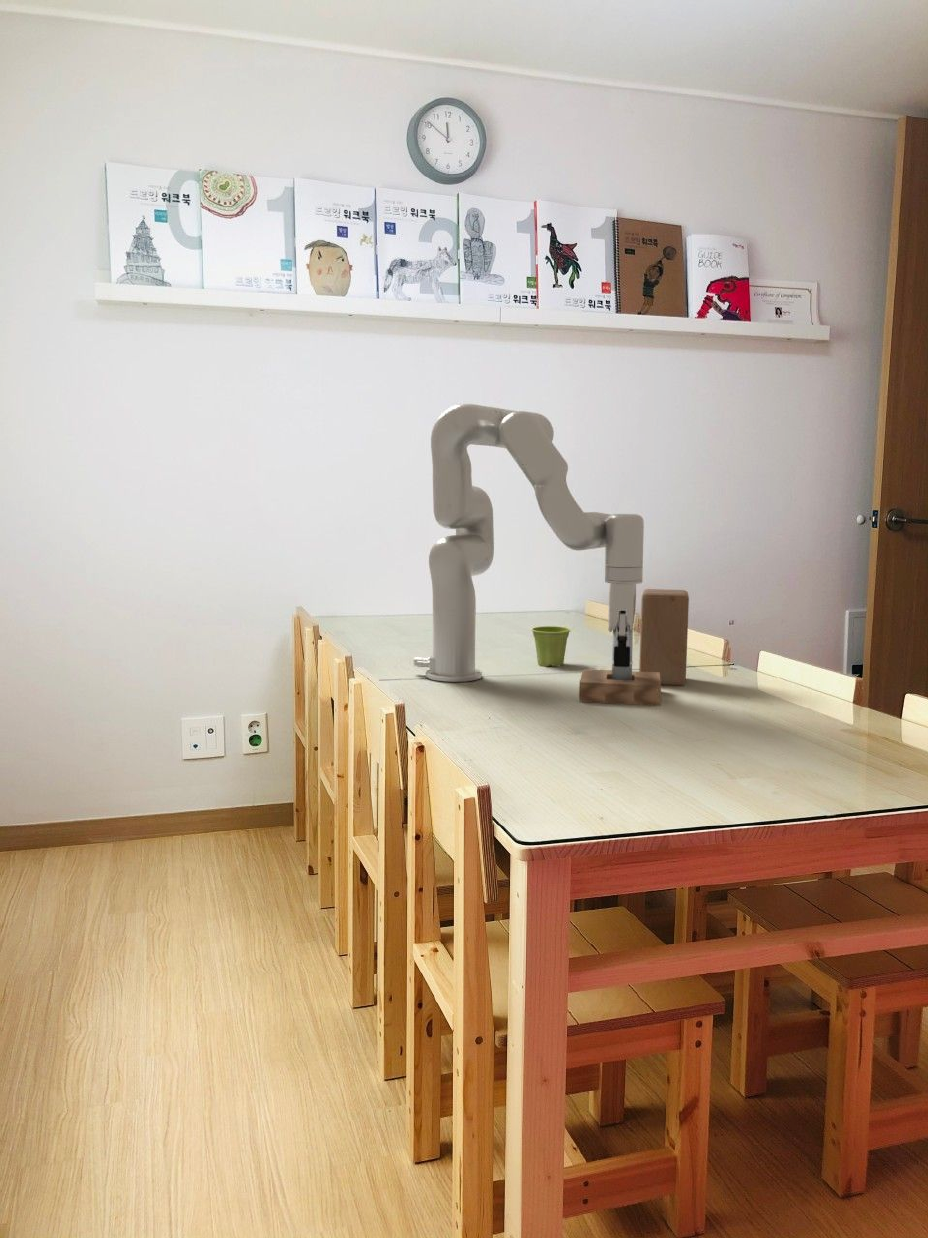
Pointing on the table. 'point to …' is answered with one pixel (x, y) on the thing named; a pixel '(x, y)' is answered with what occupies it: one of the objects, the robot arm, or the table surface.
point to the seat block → (620, 688)
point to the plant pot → (550, 644)
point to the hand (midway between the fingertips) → (621, 663)
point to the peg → (622, 672)
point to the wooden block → (664, 634)
